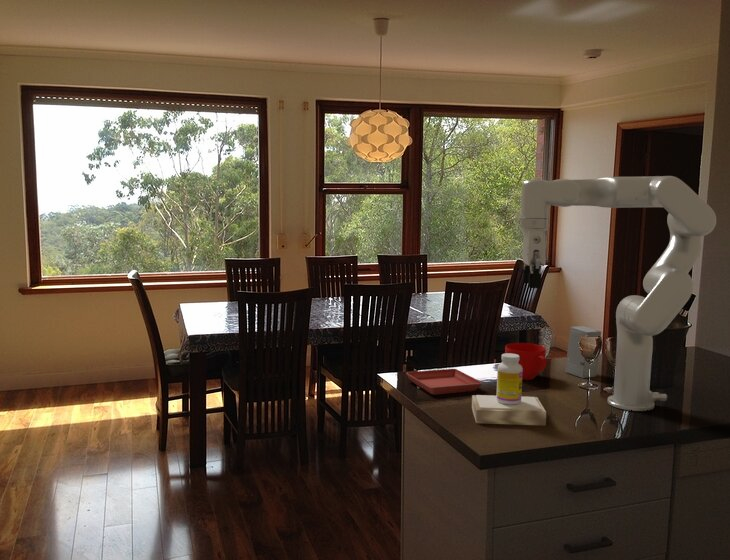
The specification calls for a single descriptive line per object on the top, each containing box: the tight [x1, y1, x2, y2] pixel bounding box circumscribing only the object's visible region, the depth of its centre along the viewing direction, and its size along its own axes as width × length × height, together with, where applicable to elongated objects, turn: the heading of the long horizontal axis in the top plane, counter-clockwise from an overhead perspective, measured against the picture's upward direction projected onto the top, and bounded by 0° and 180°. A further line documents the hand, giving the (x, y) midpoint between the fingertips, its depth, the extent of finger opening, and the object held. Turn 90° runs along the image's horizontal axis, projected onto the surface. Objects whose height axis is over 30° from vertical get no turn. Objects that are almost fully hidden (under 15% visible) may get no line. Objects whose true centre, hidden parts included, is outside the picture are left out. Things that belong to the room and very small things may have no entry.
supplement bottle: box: [495, 352, 523, 405], centre depth 185 cm, size 7×7×13 cm
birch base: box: [471, 394, 547, 426], centre depth 186 cm, size 18×13×4 cm
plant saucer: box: [405, 368, 483, 396], centre depth 213 cm, size 18×18×3 cm
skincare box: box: [564, 325, 602, 379], centre depth 228 cm, size 8×7×16 cm
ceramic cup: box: [504, 342, 548, 381], centre depth 223 cm, size 13×17×10 cm
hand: (531, 285), depth 193 cm, fingers open, 9 cm apart
